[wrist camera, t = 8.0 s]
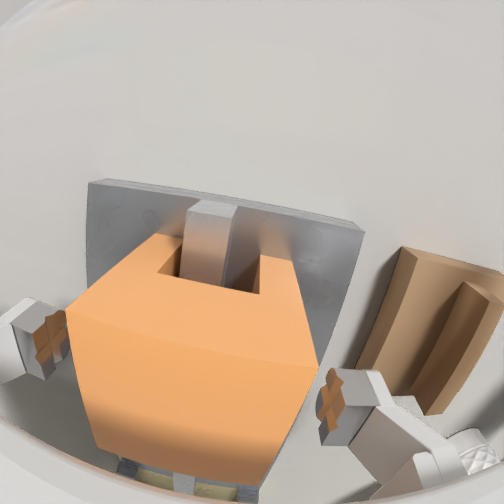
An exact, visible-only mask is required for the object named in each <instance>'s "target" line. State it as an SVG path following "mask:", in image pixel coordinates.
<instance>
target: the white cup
mask: <svg viewBox="0 0 504 504" xmlns="http://www.w3.org/2000/svg"><path fill="white" fill-rule="evenodd" d="M446 440H448V441H449V442H450V443H452V444H453V445H454V446H455V448H456V450H457V452H458V454H459V457H460V459H461V461H462V463H463V465H464V467H465V469H466V471H467V474H468V475H470V474H473V473H476V472H478V471H481V470H483V469H486V468H488V467H490V466H493V465H495V464H497V463H499V462H501V461H500V459H499V457H498V456H497V454H496V453H495V451H494V450H493V449H492V448H491V447H489V445H488V443H487V441H486V440H485V438H484V437H483V435H482V433H481V432H480V430H479V429H476V428H469V429H466V430H464V431H461V432H458V433H456V434H455V435H453V436H451V437H449V438H448V439H446Z"/></svg>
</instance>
